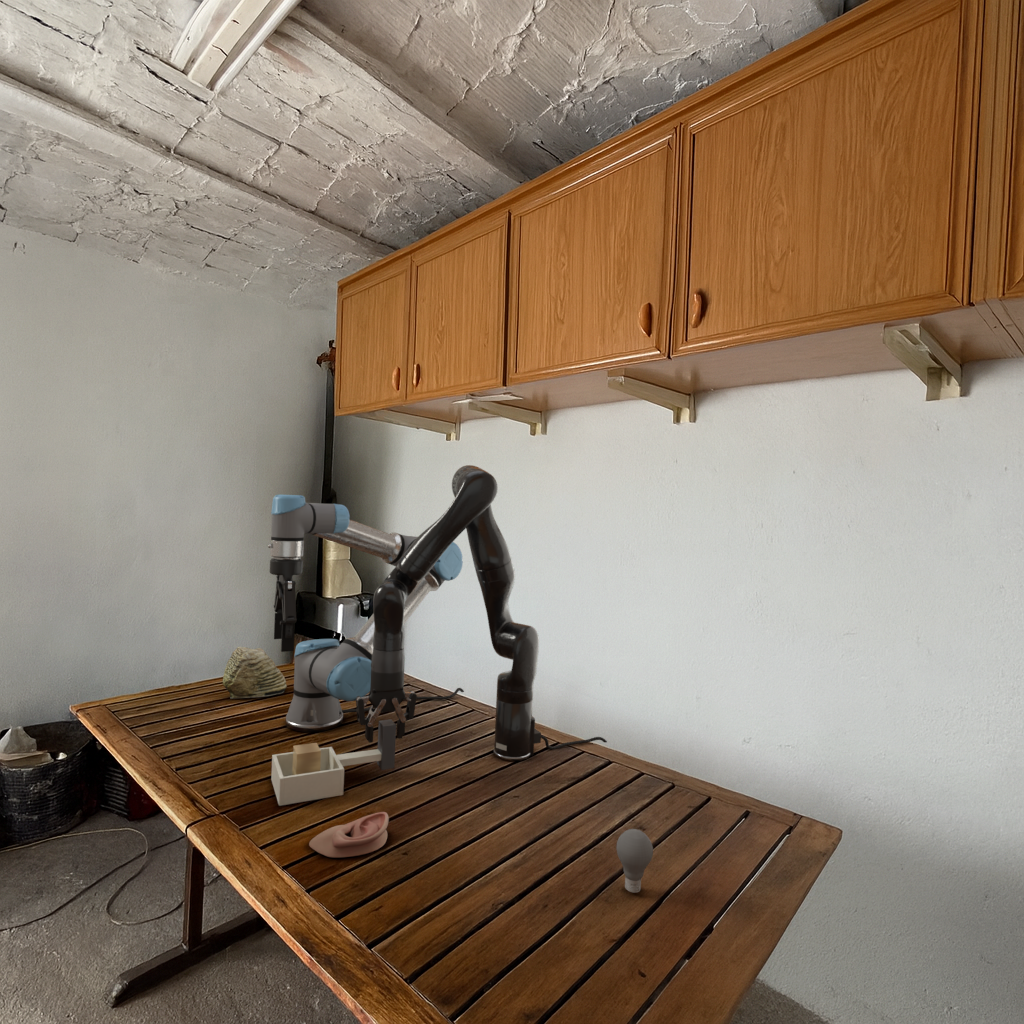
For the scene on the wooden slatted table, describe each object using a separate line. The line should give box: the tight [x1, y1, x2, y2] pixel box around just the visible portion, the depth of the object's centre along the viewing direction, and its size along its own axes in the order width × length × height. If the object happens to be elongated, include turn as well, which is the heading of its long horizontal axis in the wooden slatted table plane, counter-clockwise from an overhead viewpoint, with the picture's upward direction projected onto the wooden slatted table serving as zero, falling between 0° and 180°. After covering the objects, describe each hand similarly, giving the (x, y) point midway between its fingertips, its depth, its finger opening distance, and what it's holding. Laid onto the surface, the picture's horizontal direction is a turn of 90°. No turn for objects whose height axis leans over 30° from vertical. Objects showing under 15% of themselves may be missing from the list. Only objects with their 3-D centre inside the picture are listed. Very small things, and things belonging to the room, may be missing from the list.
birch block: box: [292, 742, 321, 775], centre depth 138 cm, size 5×5×8 cm
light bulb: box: [615, 828, 654, 894], centre depth 106 cm, size 6×6×10 cm
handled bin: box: [270, 718, 397, 807], centre depth 141 cm, size 26×13×12 cm, turn 117°
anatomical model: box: [308, 811, 390, 859], centre depth 117 cm, size 13×4×12 cm
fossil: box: [222, 646, 288, 699], centre depth 198 cm, size 9×18×15 cm, turn 132°
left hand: (283, 644), depth 154 cm, fingers open, 13 cm apart
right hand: (384, 739), depth 146 cm, fingers open, 6 cm apart
